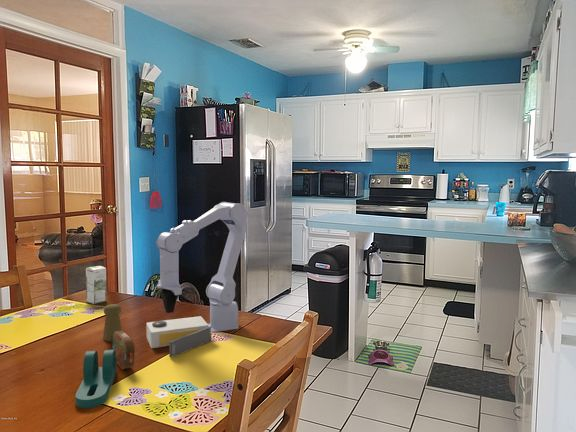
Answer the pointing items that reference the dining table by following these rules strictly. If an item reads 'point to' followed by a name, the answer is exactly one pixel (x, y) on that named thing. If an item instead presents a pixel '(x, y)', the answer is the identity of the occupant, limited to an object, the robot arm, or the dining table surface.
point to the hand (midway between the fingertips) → (169, 312)
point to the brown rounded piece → (123, 349)
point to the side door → (189, 341)
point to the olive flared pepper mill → (111, 320)
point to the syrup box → (96, 284)
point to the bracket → (96, 379)
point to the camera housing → (172, 330)
